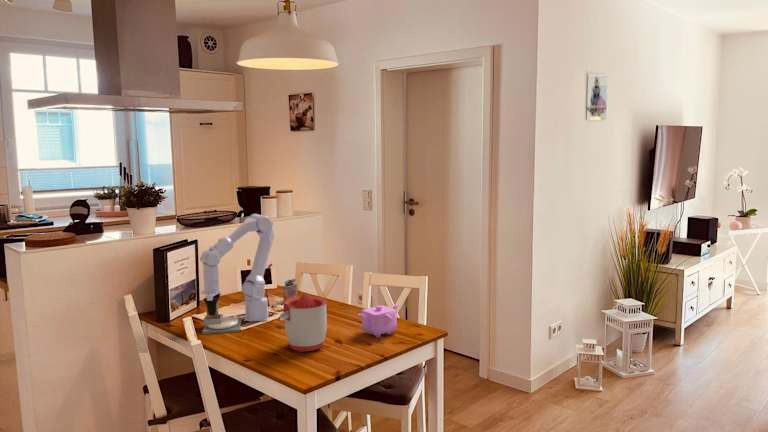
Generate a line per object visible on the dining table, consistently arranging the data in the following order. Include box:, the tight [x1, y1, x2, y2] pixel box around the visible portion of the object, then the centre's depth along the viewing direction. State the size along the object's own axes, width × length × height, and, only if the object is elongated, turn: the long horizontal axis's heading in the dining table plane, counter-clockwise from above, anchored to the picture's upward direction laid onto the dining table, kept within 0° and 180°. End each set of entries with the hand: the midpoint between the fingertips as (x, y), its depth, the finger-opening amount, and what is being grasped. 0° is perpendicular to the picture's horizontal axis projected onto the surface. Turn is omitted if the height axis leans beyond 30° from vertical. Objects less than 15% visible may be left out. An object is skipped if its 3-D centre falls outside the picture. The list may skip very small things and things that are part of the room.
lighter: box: [282, 278, 298, 303], centre depth 279 cm, size 8×3×10 cm, turn 143°
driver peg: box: [205, 300, 219, 319], centre depth 241 cm, size 4×4×8 cm
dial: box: [203, 313, 239, 329], centre depth 242 cm, size 13×12×3 cm
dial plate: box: [201, 318, 243, 335], centre depth 242 cm, size 14×14×1 cm
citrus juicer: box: [279, 293, 328, 353], centre depth 217 cm, size 16×17×20 cm
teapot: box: [357, 304, 400, 338], centre depth 232 cm, size 15×13×11 cm
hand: (213, 313), depth 241 cm, fingers closed on driver peg, 4 cm apart
